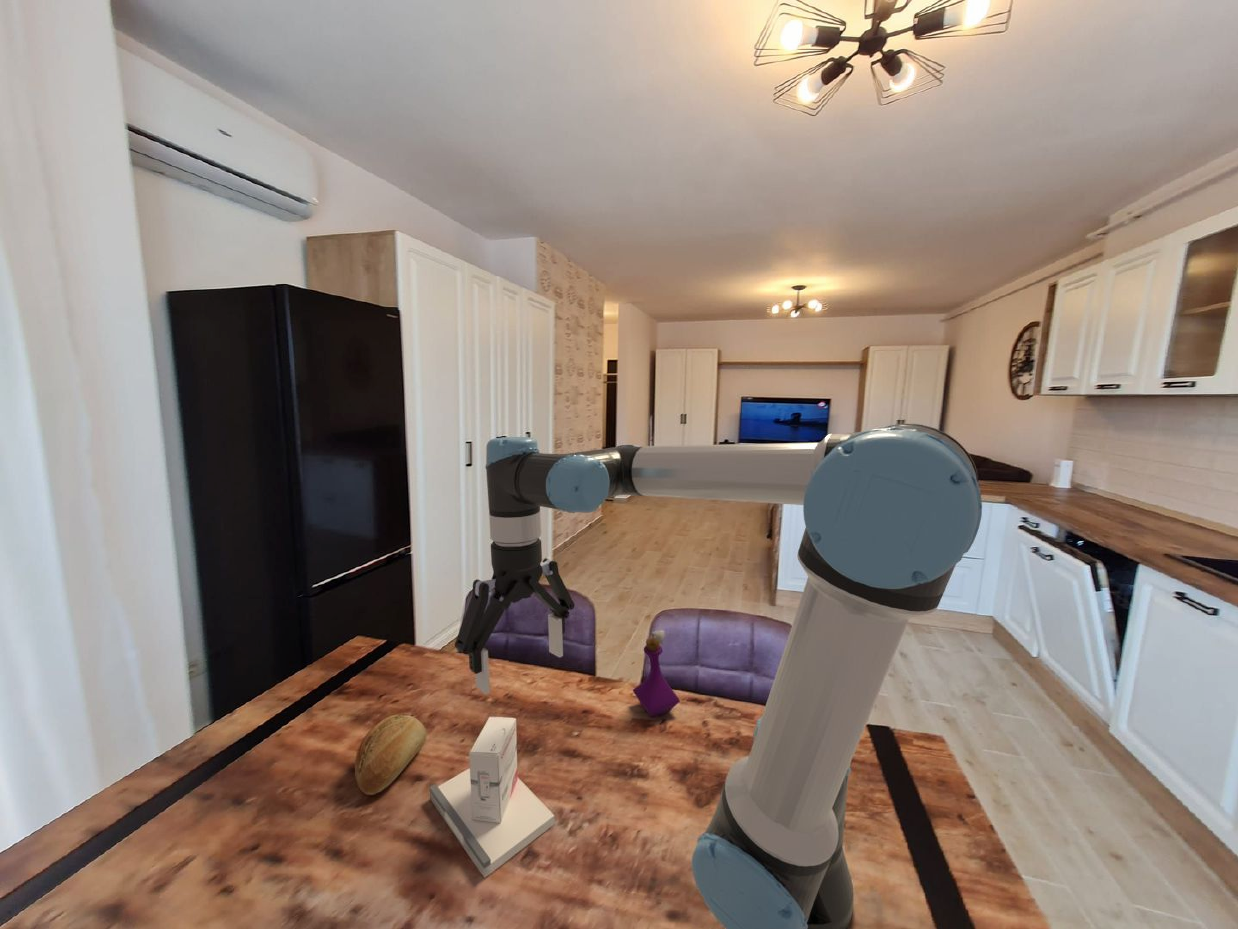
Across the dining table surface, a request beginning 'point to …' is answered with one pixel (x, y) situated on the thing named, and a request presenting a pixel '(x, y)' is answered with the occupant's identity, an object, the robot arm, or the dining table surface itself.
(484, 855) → the white flat slab
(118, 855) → the dining table surface
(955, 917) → the dining table surface
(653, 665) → the perfume bottle
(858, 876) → the dining table surface
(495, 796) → the ink box
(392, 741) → the bread roll
